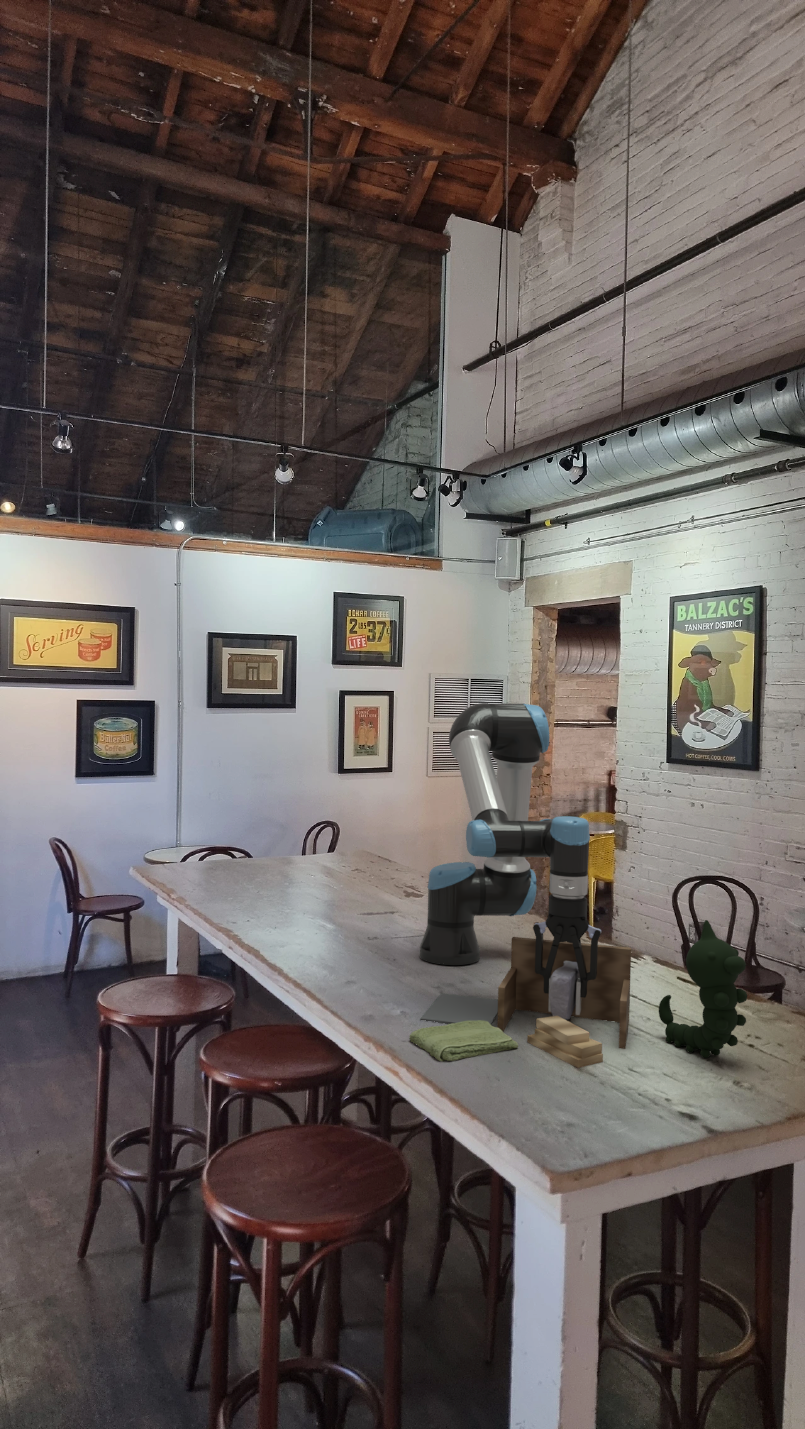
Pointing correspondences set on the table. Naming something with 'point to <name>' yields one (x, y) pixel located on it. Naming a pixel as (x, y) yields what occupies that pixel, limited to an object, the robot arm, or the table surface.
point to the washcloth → (462, 1040)
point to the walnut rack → (527, 987)
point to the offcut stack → (566, 1041)
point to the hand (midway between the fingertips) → (564, 1010)
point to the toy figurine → (710, 996)
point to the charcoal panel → (461, 1009)
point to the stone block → (564, 990)
